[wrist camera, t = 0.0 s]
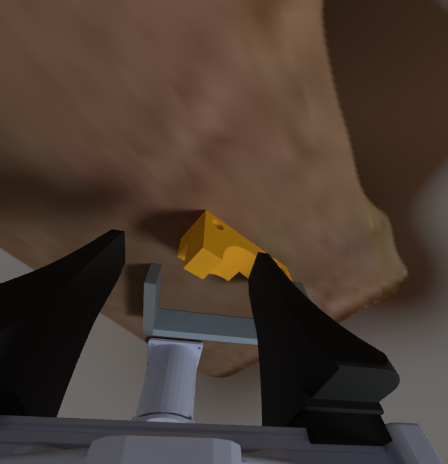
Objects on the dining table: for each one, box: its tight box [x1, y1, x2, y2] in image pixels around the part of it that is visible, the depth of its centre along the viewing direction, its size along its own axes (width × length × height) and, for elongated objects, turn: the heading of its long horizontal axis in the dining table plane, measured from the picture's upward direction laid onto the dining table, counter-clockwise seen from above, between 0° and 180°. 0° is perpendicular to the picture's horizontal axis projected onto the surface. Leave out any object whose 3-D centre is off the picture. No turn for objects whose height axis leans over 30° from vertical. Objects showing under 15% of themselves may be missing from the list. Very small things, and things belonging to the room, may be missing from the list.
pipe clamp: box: [177, 210, 292, 281], centre depth 22 cm, size 12×4×6 cm, turn 50°
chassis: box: [143, 264, 309, 345], centre depth 28 cm, size 9×18×3 cm, turn 78°
